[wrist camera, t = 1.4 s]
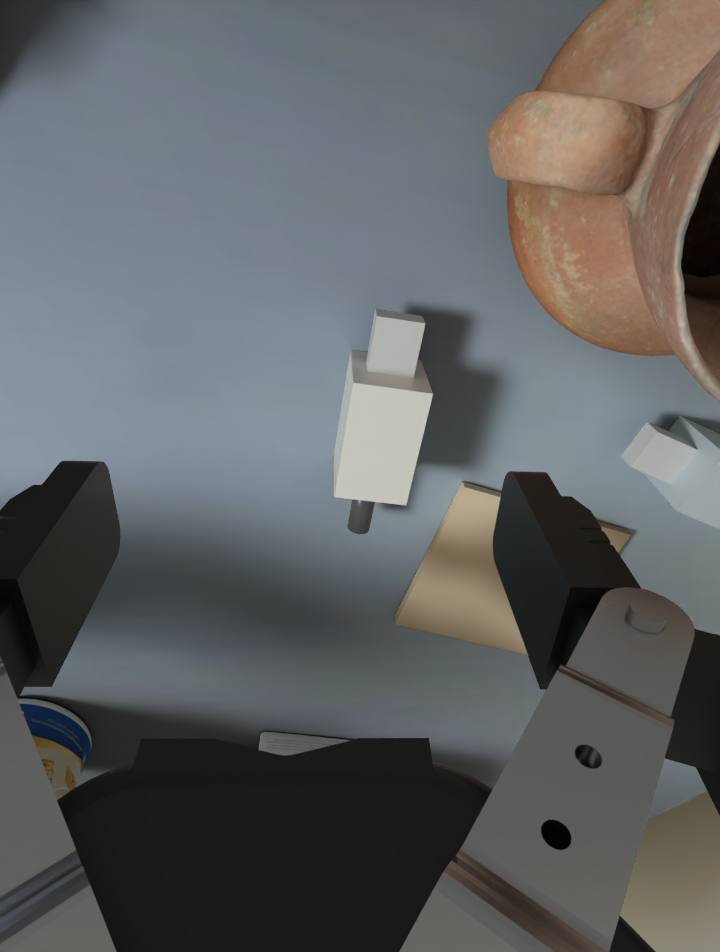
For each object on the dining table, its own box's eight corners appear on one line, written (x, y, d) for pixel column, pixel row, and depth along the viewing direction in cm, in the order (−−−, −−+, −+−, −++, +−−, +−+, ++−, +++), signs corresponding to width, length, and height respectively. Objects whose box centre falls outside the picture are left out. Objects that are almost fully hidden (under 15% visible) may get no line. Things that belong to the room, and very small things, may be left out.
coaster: (541, 652, 41) (543, 658, 41) (393, 617, 39) (394, 624, 39) (626, 529, 36) (630, 534, 36) (462, 481, 34) (464, 487, 34)
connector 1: (387, 508, 35) (393, 556, 31) (326, 501, 35) (325, 548, 31) (431, 308, 29) (446, 337, 25) (359, 297, 29) (363, 324, 25)
